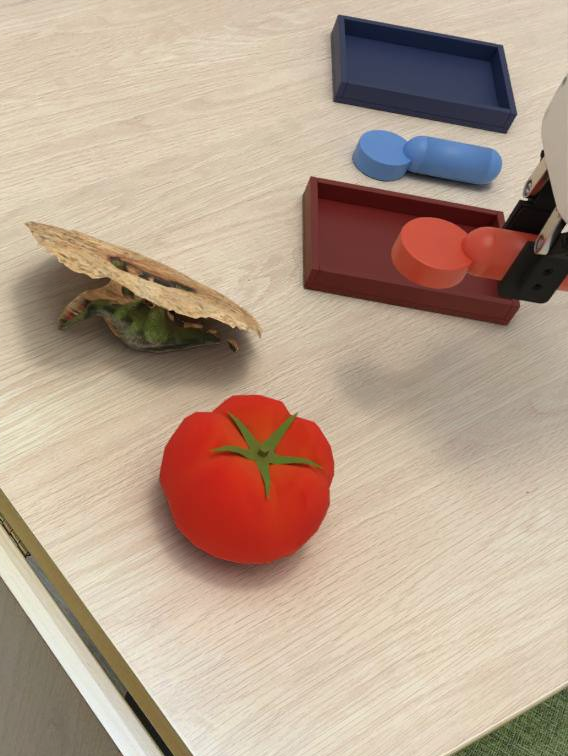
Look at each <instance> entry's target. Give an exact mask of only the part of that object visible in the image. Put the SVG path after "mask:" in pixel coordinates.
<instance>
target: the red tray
mask: <svg viewBox="0 0 568 756" xmlns="http://www.w3.org/2000/svg"><path fill="white" fill-rule="evenodd" d="M422 217H432V218H438V219H442V220H445V221H448V222H451V223H453V224H455V225H456V226H458V227H460V228H461V229H462V230H464V231H465V232H466V233H467V234H469V233H470V232H471V231H473V230H475V229H478V228H480V227H495V228H502V227H503V225H504V224H505V222H506V217H505V213H504V211H502V210H496V209H492V208H485V207H481V206H480V207H479V206H475V205H468V204H463V203H458V202H453V201H447V200H443V199H437V198H431V197H426V196H421V195H415V194H410V193H404V192H399V191H394V190H388V189H383V188H377V187H373V186H372V187H371V186H367V185H362V184H356V183H350V182H344V181H340V180H333V179H329V178H323V177H317V176H313V175H311V176H310V177H309V179H308V181H307V183H306V186H305V188H304V191H303V193H302V266H303V267H302V276H303V277H302V279H303V281H302V283H303V284H302V285H303V286H302V287H303V289H308V290H313V291H319V292H325V293H330V294H335V295H340V296H346V297H352V298H356V299H362V300H367V301H373V302H379V303H384V304H389V305H393V306H394V305H395V306H400V307H405V308H410V309H416V310H421V311H426V312H433V313H438V314H442V315H443V314H444V315H449V316H456V317H459V318H465V319H471V320H475V321H476V320H477V321H482V322H487V323H494V324H499V325H502V326H503V325H504V326H508V325H509V324H510V322H511V321H512V319H513V318H514V316H515V315H516V314H517V313H518V311H519V309H520V308H521V302H520V300H515V299H509V298H504V297H500V296H499V295H498V291H497V286H498V285H499V283H500V282H501V280H495V279H490V278H484V277H478V276H474V275H471V274H469V273H466V275H465V277H464V278H463V280H462V281H461V282H460V283H458V284H457V285H455V286H453V287H450V288H444V289H435V288H428V287H424V286H421V285H419V284H416V283H414V282H412V281H411V280H409V279H407V278H406V277H405V276H403V275H402V274H401V273H400V272H399V271H398V270H397V268H396V267H395V265H394V263H393V261H392V257H391V251H392V247H393V245H394V243H395V241H396V239H397V238H398V236H399V234H400V232H401V230H402V228H403V227H404V225H405V224H407V223H408V222H409V221H411V220H413V219H416V218H422Z"/></svg>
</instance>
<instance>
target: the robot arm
mask: <svg viewBox="0 0 568 756" xmlns="http://www.w3.org/2000/svg"><path fill="white" fill-rule="evenodd" d="M540 135H541V136H540V137H541V144H542V149H541V151H540V154H539V157H540V160H539V162H538V164H537V165H536V167H535V169H534V170H533V171H532V172H531V174H530V176H529V177H528V179H527V180H526V182H525V183H524V186H523V189H522V198H523V199H519V200H518V201H517V203H516V205H515V206H514V207H513V209H512V211H511V212H510V214H509V215H508V217H507V219H505V224H504V225H503V227H502V228H501V229H506V230H512V231H518V232H524V233H530V234H536V235H538V237H537V239H536V241H535V242H534V241H527V242H526V244H525V245H524V247H523V248H522V250H521V251H520V253H519V254H518V256H517V257H516V259H515V260H514V262H513V263H512V265H511V266H510V268H509V269H508V271H507V273H506V274H505V276H504V277H503V279H502V280H501V282H500V283H499V285H498V286H497V291H498V295H499V296H500V297H504V298H509V299H515V300H519V301H521V302H528V303H534V304H540V305H543V304H546V303H548V302H549V301H550V300H551V298H552V297H553V296H554V294H555V293H556V292H557V291H558V290H557V289H558V287H559V286H560V285H561V283H562V282H563V281H564V279H565V278H566V277H567V275H568V231H565V232H563V230H564V229H565V227H566V225H568V72H567V73H566V74H565V76H564V78H563V80H562V81H561V83H560V85H559V86H558V88H557V89H556V91H555V93H554V95H553V96H552V98H551V101H550V102H549V104H548V107H547V108H546V111H545V112H544V115H543V117H542V120H541V128H540ZM525 199H526V200H525Z"/></svg>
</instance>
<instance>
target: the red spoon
mask: <svg viewBox="0 0 568 756" xmlns="http://www.w3.org/2000/svg"><path fill="white" fill-rule="evenodd" d="M537 237H538V235H536V234H530V233H524V232H518V231H512V230H506V229H501V228H495V227H480V228H478V229H475V230H473V231H471V232H470V233H469V234H467V233H466V232H465V231H464V230H462V229H461V228H460V227H458V226H456V225H455V224H453V223H451V222H448V221H445V220H442V219H438V218H432V217H422V218H416V219H413V220H411V221H409V222H408V223H407V224H405V225H404V227H403V228H402V230H401V232H400V234H399V236H398V238H397V239H396V241H395V243H394V245H393V247H392V251H391V257H392V261H393V263H394V265H395V267H396V268H397V270H398V271H399V272H400V273H401V274H402V275H403V276H405V277H406V278H407V279H409V280H411V281H412V282H414V283H416V284H419V285H421V286H424V287H428V288H435V289H444V288H450V287H453V286H455V285H457V284H458V283H460V282H461V281H462V280H463V278H464V277H465V275H466V273H469V274H471V275H474V276H478V277H484V278H490V279H495V280H502V279H503V277H504V276H505V274H506V273H507V271H508V269H509V268H510V266H511V265H512V263H513V262H514V260H515V259H516V257H517V256H518V254H519V253H520V251H521V250H522V248H523V247H524V245H525V244H526V242H527V241H534V242H535V241H536V239H537ZM556 291H561V292H568V275H567V277H566V278H565V279H564V281H563V282H562V283H561V285H560V286H559V287H558V289H557V290H556Z"/></svg>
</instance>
